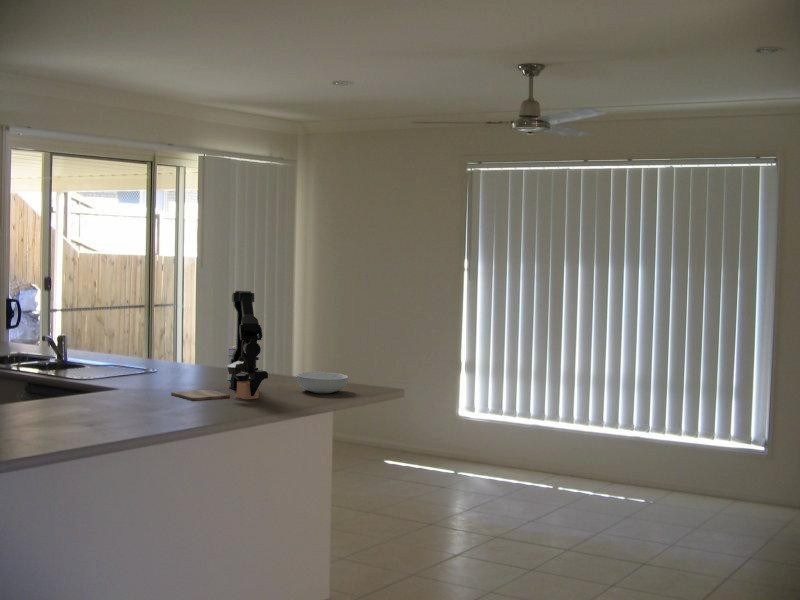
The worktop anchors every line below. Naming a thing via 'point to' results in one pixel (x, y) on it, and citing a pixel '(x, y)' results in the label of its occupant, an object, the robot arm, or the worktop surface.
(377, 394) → the worktop surface
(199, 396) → the walnut board
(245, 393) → the terracotta cube
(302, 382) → the serving bowl
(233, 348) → the syrup box
